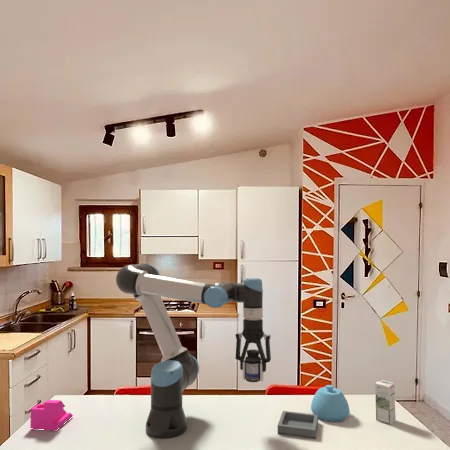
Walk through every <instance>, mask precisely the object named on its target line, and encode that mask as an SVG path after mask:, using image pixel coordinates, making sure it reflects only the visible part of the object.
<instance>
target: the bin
mask: <svg viewBox="0 0 450 450" xmlns="http://www.w3.org/2000/svg"><path fill="white" fill-rule="evenodd" d="M318 421H319V418H318V415H315V414H312V413H305V412H297V411H290V410H289V411H288V410H282V412H281V415H280V418H279V420H278V423H277V435H284V436H291V437H299V438H305V439H312V440H313V439H314V440H316V439H317V431H318V425H319V424H318V423H319V422H318Z"/></svg>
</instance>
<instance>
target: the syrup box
mask: <svg viewBox="0 0 450 450" xmlns="http://www.w3.org/2000/svg"><path fill="white" fill-rule="evenodd" d="M374 386H375V387H374V389H375V390H374V391H375V392H374V393H375V420H376V421H378V422H381V423H384V424H387V425H388V424H389V425H392V424H393V423H394V422H396V390H395V389H396V384H395V382H392V381H388V380H383V379H379V380H377V381H376V382H375V384H374Z"/></svg>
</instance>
